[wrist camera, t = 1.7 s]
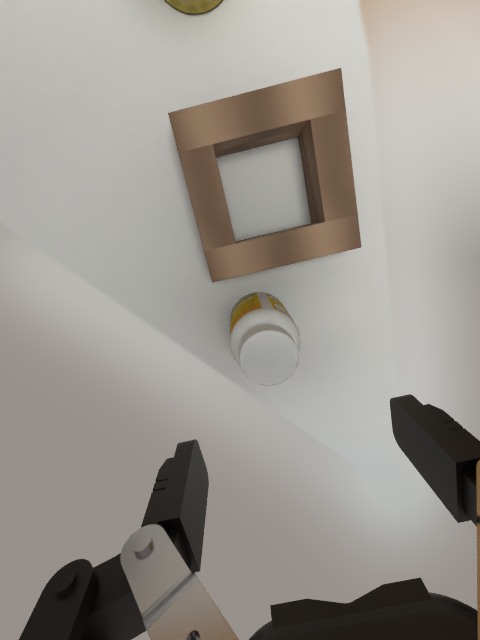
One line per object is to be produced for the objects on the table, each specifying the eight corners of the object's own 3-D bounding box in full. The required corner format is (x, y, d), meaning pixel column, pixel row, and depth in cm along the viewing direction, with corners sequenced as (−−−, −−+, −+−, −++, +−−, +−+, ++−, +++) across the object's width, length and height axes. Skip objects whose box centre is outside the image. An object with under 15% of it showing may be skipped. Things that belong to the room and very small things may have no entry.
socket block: (215, 275, 28) (212, 282, 24) (178, 131, 24) (168, 112, 21) (343, 245, 27) (361, 247, 24) (323, 94, 24) (340, 67, 20)
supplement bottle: (288, 293, 29) (316, 323, 19) (282, 346, 30) (304, 397, 21) (232, 289, 28) (232, 317, 19) (228, 342, 30) (226, 392, 21)
